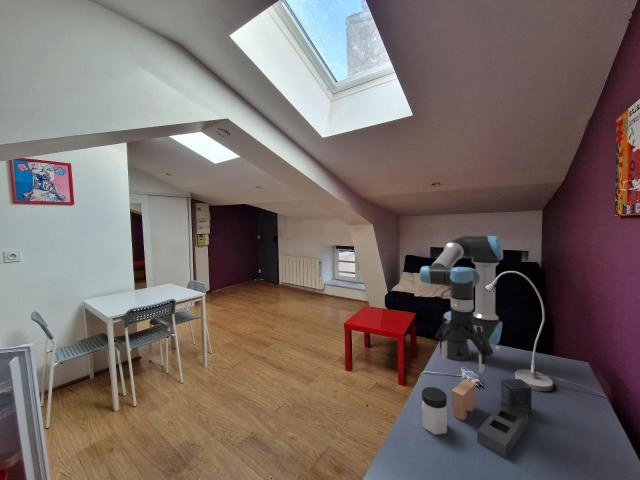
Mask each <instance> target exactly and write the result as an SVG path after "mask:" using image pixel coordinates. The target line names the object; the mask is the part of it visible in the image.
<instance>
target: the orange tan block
mask: <svg viewBox="0 0 640 480" xmlns="http://www.w3.org/2000/svg"><path fill="white" fill-rule="evenodd" d="M476 399H477V383H476V382H473V381H471V380H468V379H466V378H465V379H464V380H463V381H461V382H460V383H459V384H458V385H456V386H455V387H454V388H453V389H452V390H451V407H453V416H454V417H456V418H457V419H460V420H461V421H465V419H466V418H467V411H470V412H471V413H472V412H473V411H475V401H476Z"/></svg>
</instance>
